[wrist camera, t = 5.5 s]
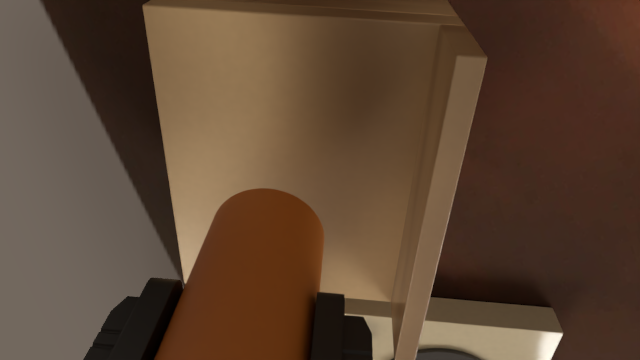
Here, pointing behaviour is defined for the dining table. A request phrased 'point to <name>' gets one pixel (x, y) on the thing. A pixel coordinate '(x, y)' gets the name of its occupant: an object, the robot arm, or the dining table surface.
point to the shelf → (323, 129)
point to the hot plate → (467, 330)
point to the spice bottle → (251, 283)
